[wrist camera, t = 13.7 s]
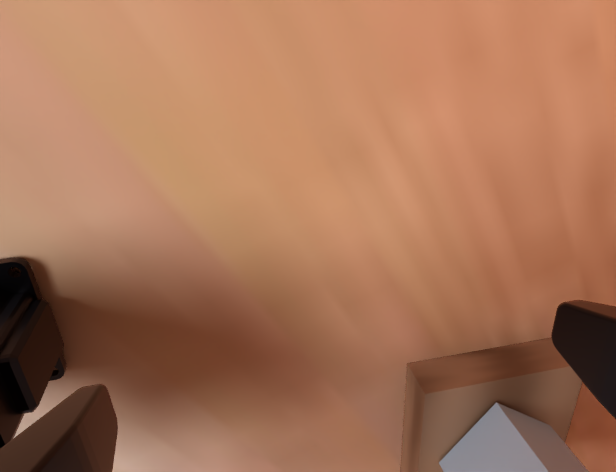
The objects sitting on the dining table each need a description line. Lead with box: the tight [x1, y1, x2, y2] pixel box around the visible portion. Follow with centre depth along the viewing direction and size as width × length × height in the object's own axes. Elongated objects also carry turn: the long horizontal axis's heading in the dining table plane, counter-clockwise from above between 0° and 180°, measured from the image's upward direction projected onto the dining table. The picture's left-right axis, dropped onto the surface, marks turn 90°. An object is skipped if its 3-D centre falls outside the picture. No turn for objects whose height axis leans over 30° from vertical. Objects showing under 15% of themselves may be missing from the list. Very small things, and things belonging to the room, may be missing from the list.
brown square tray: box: [400, 338, 582, 472], centre depth 29 cm, size 10×10×3 cm
